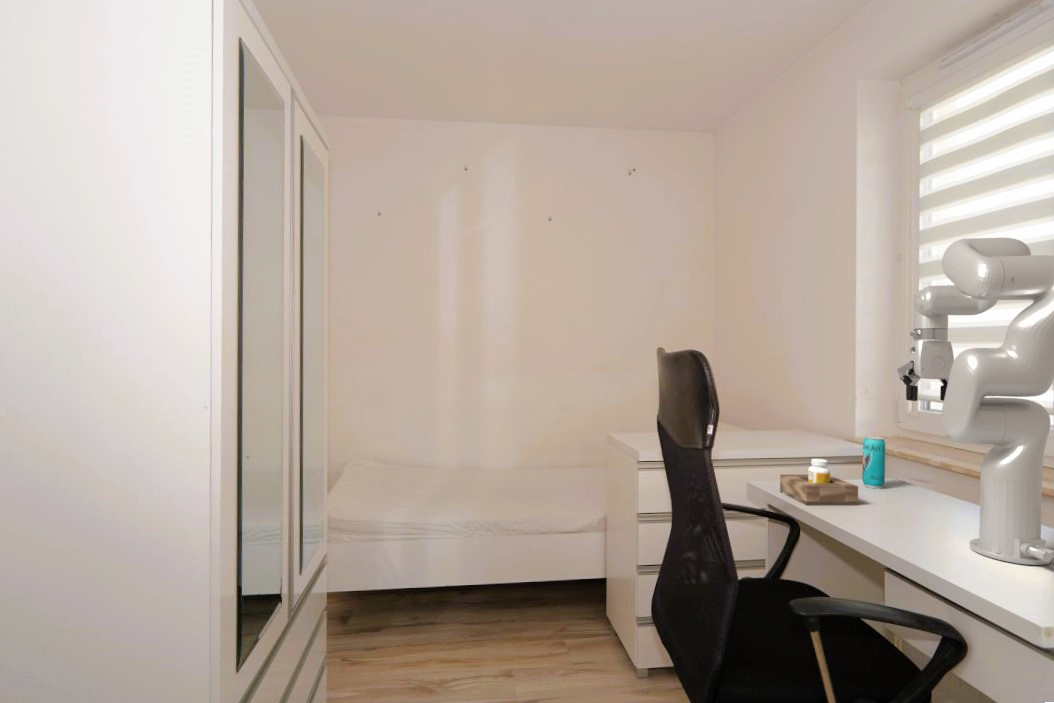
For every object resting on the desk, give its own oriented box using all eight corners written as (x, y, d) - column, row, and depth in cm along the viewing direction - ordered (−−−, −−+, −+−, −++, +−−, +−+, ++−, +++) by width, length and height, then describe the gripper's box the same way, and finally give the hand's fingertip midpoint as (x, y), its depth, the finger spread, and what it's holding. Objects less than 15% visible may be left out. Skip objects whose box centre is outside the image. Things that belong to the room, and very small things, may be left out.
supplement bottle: (804, 494, 158) (804, 459, 158) (813, 491, 162) (813, 457, 162) (824, 498, 154) (825, 462, 154) (832, 495, 157) (833, 460, 157)
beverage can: (858, 484, 175) (859, 435, 175) (877, 484, 175) (878, 435, 175) (868, 489, 170) (869, 438, 169) (888, 489, 169) (889, 438, 169)
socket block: (857, 505, 151) (858, 486, 151) (806, 505, 151) (806, 486, 150) (827, 491, 165) (827, 474, 165) (780, 491, 164) (780, 474, 164)
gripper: (910, 335, 147) (908, 401, 147) (972, 336, 148) (971, 402, 148) (889, 335, 155) (888, 399, 155) (949, 337, 156) (948, 399, 156)
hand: (929, 400), depth 152 cm, fingers open, 9 cm apart
